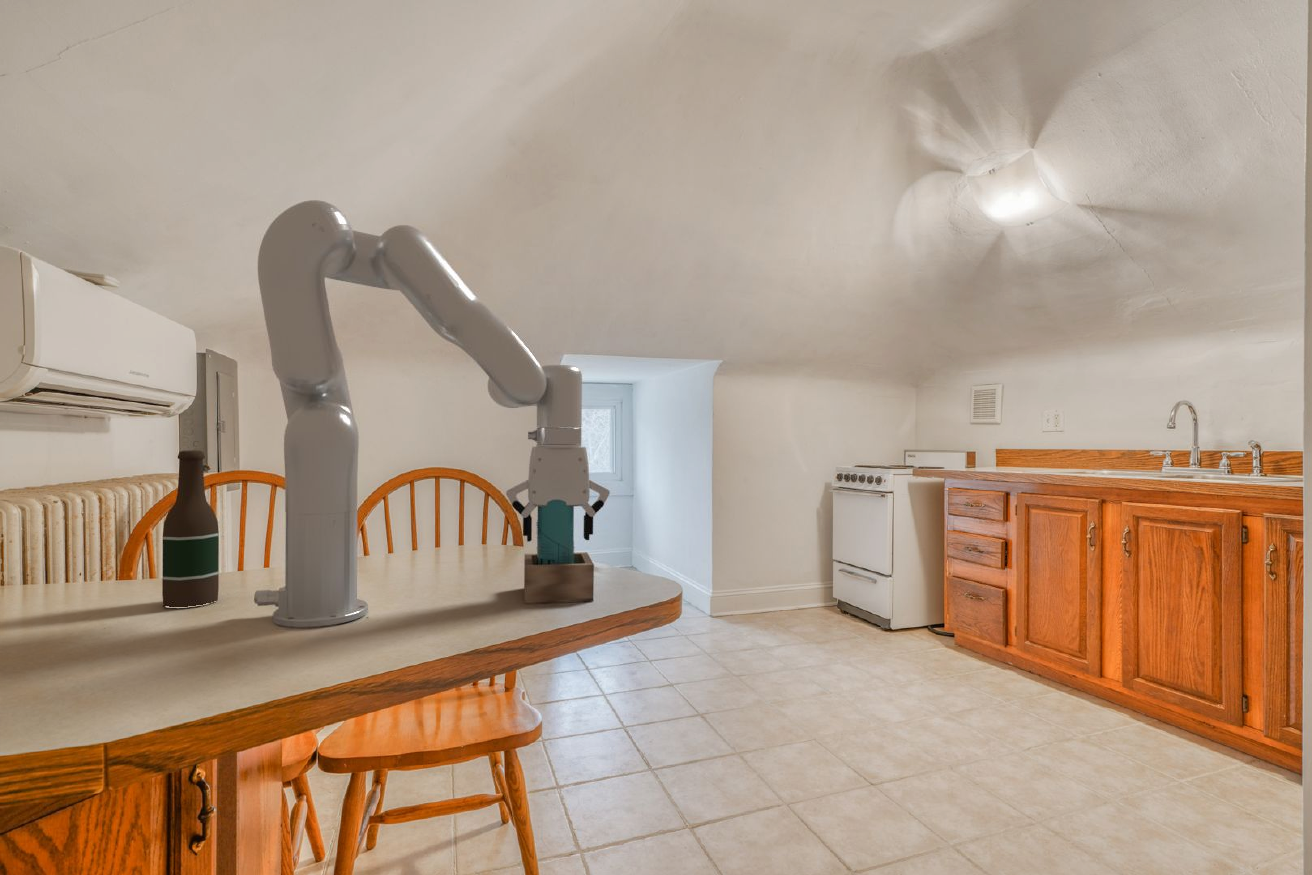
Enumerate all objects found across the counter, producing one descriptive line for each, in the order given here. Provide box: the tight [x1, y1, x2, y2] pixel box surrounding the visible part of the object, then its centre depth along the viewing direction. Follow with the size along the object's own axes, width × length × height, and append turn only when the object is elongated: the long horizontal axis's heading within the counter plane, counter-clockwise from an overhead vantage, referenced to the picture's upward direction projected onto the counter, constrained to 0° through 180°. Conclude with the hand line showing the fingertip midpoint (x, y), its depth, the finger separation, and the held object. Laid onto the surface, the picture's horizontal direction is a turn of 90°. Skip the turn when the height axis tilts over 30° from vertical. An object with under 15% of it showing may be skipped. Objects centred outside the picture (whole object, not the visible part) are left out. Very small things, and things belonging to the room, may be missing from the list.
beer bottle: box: [161, 449, 220, 607], centre depth 106 cm, size 8×8×24 cm
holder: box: [523, 551, 595, 605], centre depth 115 cm, size 11×11×6 cm
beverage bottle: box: [535, 500, 576, 565], centre depth 115 cm, size 6×7×20 cm
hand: (558, 539), depth 115 cm, fingers open, 9 cm apart
